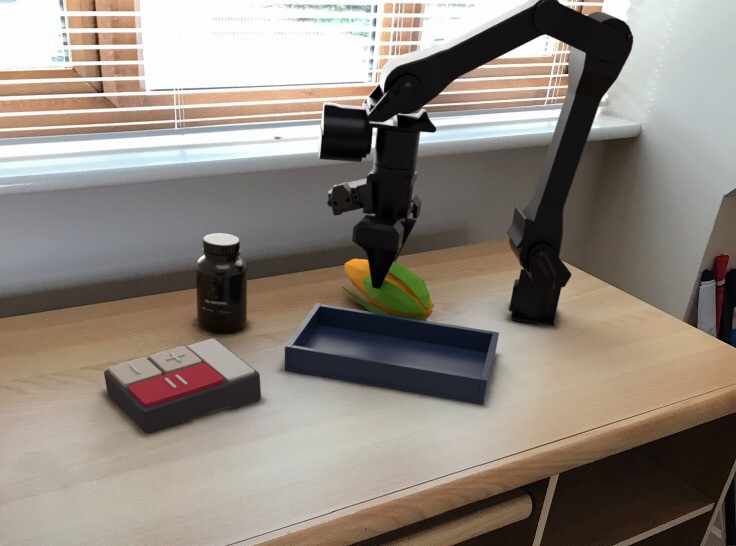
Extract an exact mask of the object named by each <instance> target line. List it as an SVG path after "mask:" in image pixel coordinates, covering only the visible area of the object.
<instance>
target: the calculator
mask: <svg viewBox="0 0 736 546" xmlns="http://www.w3.org/2000/svg"><path fill="white" fill-rule="evenodd" d="M103 375H104V382H105V387H106V392H107V394H108V396H110V397H111V399H112V400H113V401H115V403H117V405H119V407H121V409H122V410H123V411H124V412H125V413H126V414H127V415H128V416H129V417H130V418H131V419H132V420H133V421H134V422H135V423H136V424H137V425H138V427H140V428H141V429H142V430H143V431H144V432H145V433H146V434H151V433H154V432H156V431H160V430H163V429H166V428H169V427H172V426H174V425H178V424H181V423H185V422H187V421H189V420H193V419H195V418H198V417H201V416H204V415H207V414H210V413H214V412H216V411H219V410H222V409H225V408H232V409H238V408H241V407H244V406H247V405H250V404H253V403H257V402H259V401H261V399H262V391H261V374H260V372H258V371H257V370H256V369H255V368H254V367H252V366H251V365H250V364H249V363H247V362H246V361H244V360H243V359H242V358H240V356H238V355H237V354H236V353H234V352H233V351H232V350H231V349H229V348H228V347H226V346H225V345H224V344H222V343H221V342H220V341H219V340H218V339H216V338H209V339H205V340H202V341H199V342H195V343H192V344H189V345H187V346H185V345H180V346H176V347H173V348H170V349H167V350H163V351H159V352H156V353H153V354H150V355H149V356H148V357H145V356H143V357H138V358H135V359H131V360H128V361H125V362H122V363H121V362H120V363H117V364H114V365H111V366H109V367H108V368H107V369H106V370H104V371H103Z"/></svg>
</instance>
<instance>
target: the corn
mask: <svg viewBox="0 0 736 546" xmlns="http://www.w3.org/2000/svg"><path fill="white" fill-rule="evenodd" d="M344 274H345V275H346V276H347V278H348V280H349V282H351V283H350V284H352V286H354V288H355V289H357V291H359V292H360V294H361V295H363V297H364V298H365V299H367V300H368V301H369V302H371V303H372V304H371V303H369V302H367V301H365V300H364V299H362V298H361V297H359V296H357V295H356V294H354V293H353V292H351V291H350V290H348V289H347V288H346V287H344V286H342V289H343V290H344V291H345V293H347V295H349V297H350V298H352V299H353V300H355V302H357V303H358V304H360V305H361V306H363V307H364V308H365V309H367V310H368V312H374V313H381V314H387V315H393V316H399V317H406V318H412V319H418V320H424V321H427V320H428V319H429V318H430V316H431V314H432V312H433V308H434V304H433V303H434V302H433V300H432V299H431V296H430V292H429V289H428V287H427V285H426V283H425V280H424V279H423V278H421V277H420V276H419V275H417V274H416V273H415V272H413V271H411V270H410V269H409V268H407V267H406V266H404V265H403V264H401V263H399V262H398V261H396V262H395V261H393V263H392V265H391V267H390V269H389V271H388V273H387V275H386V277H385V279H384V281H383V283H382V285H381V287H380V288H379V289H377V288H373V287H372V282H371V276H370V269H369V263H368V259H363V258H362V259H361V258H353V259H350V260H349V261H347V262H345V263H344ZM373 304H374V305H375V306H374V305H373ZM376 306H377V307H376Z"/></svg>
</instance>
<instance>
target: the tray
mask: <svg viewBox="0 0 736 546" xmlns="http://www.w3.org/2000/svg"><path fill="white" fill-rule="evenodd" d="M387 314H388V313H387ZM387 314H381V313H374V312H371V311H369V310H368V311H367V310H361V309H357V308H356V309H355V308H348V307H343V306H336V305H330V304H324V303H317V302H316V303H315V304H314V305H313V307H312V308H311V309H310V311H309V312H308V314H307V315H306V316H305V318H304V319H303V321H302V322H301V323H300V325H299V326H298V327H297V329H296V331H295V332H294V333H293V334H292V336H291V337H290V339H289V340H288V341H287V343H286V344H285V346H284V368H283V369H284V371H285V372H290V373H296V374H302V375H303V374H304V375H308V376H312V377H313V376H314V377H319V378H326V379H331V380H335V381H342V382H348V383H353V384H354V383H355V384H360V385H365V386H370V387H375V388H376V387H378V388H381V389H382V388H383V389H387V390H388V389H389V390H394V391H400V392H405V393H411V394H412V393H413V394H416V395H417V394H418V395H423V396H429V397H434V398H440V399H446V400H451V401H458V402H464V403H470V404H474V405H475V404H476V405H479V406H480V405H481V406H483V405H484V402H485V398H486V394H487V390H488V386H489V381H490V377H491V373H492V369H493V365H494V361H495V357H496V352H497V347H498V341H499V335H500V332H499V331H492V330H486V329H481V328H474V327H468V326H461V325H456V324H450V323H443V322H437V321H431V320H425V321H424V320H418V319H412V318H406V317H399V316H393V315H387Z"/></svg>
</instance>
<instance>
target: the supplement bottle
mask: <svg viewBox="0 0 736 546" xmlns="http://www.w3.org/2000/svg"><path fill="white" fill-rule="evenodd" d="M202 253H203V255H202V256H200V257H199V259H198V260H197V262H196V264H195V279H196V280H195V282H196V283H195V285H196V318H197V323H198V324H199V326H200V328H202V329H204V330H206V331H208V332H211V333H215V334H230V333H236V332H239V331H241V330H242V329H243V328H244V327H245V326H246V325H247V320H248V319H247V317H248V316H247V315H248V314H247V313H248V312H247V311H248V266H247V265H248V264H247V263H246V261H245V260H244V258H242V257H241V256H240V255H241V241H240V238H239V237H237V236H236V235H233V234H229V233H210V234H207V235H205V236H204V237H203V238H202Z"/></svg>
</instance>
